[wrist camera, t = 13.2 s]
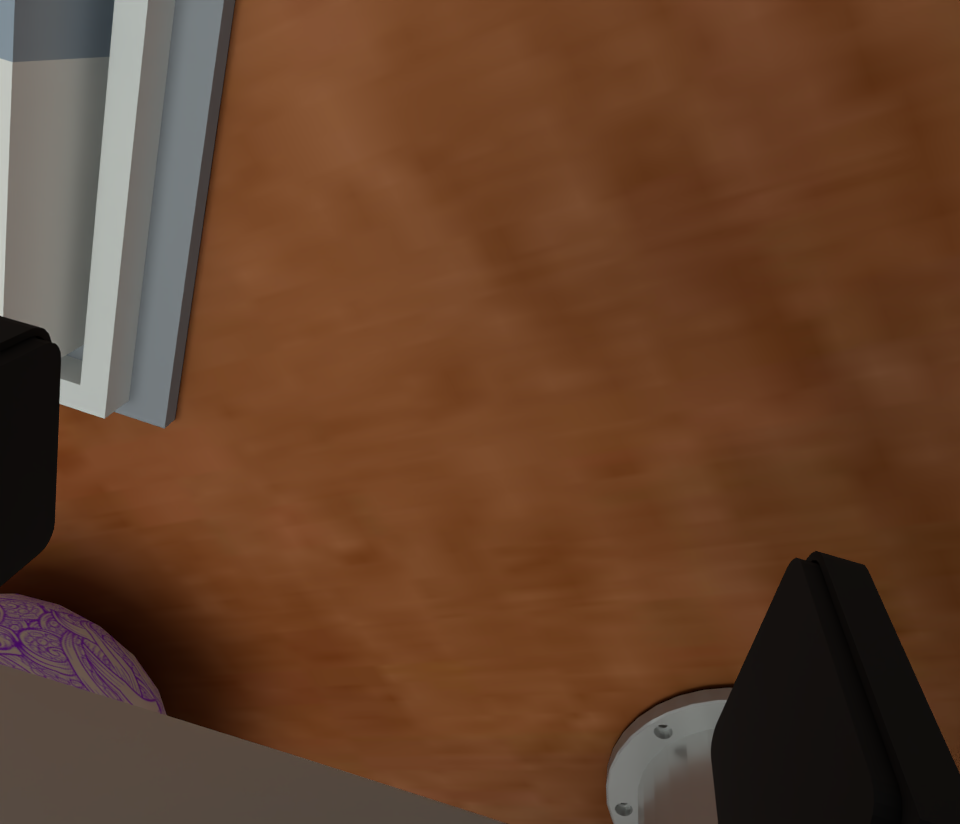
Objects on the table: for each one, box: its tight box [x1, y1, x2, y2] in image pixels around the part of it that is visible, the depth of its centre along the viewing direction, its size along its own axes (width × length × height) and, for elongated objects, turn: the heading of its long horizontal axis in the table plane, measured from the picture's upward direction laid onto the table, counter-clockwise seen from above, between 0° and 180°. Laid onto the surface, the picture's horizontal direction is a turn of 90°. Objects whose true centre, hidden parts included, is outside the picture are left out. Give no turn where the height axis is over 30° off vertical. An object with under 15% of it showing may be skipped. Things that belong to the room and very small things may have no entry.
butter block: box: [0, 0, 115, 358], centre depth 33 cm, size 14×4×6 cm, turn 165°
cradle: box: [59, 0, 235, 428], centre depth 35 cm, size 20×12×3 cm, turn 164°
